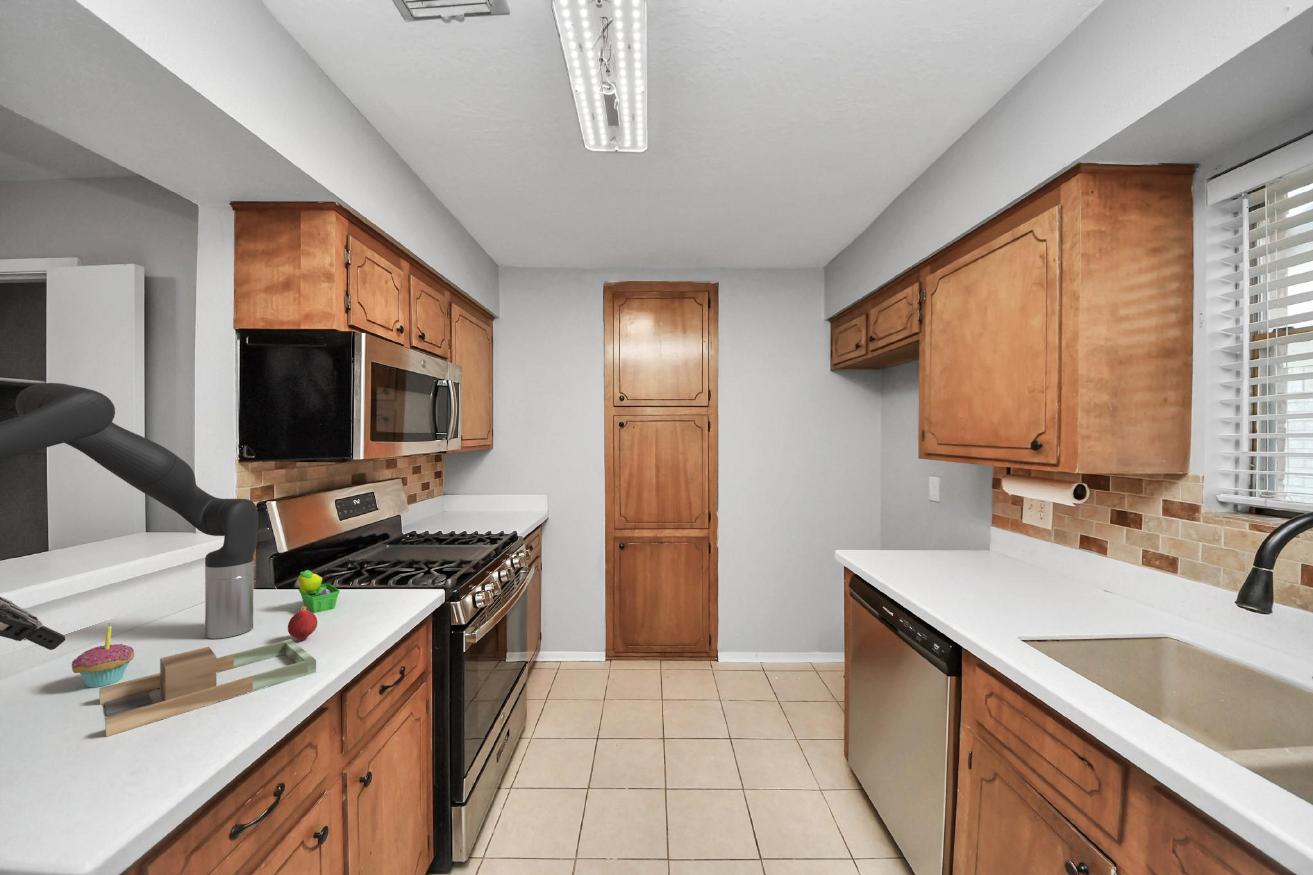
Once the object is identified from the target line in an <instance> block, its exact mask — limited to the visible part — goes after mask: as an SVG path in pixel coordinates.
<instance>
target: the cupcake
mask: <svg viewBox="0 0 1313 875" xmlns="http://www.w3.org/2000/svg"><path fill="white" fill-rule="evenodd" d="M105 631H106V632H105V640H104V641H105V642H104V645H99V646H94V647H92V648H90V649H88V650H85V651H84V652H82V653H81V654H80V655H78V656H77V657H76V658H74V659H73V660H72V662H71V670H72V672H73V673H74V674H79V675H80V676H81V677H82V679H83V681H84V683H85V685H86V687H88V688H102V687H106V686H110V685H111V684H112V685H113V684H114V683H115V684H116V683H117V682H119V681H120V680H122V678H123V677H124V673H125V671H126V669H127V667H128V666H129V664H130V662H131V661H133V660H134V659H135V658H134V657H135V652H134V648H133V647H132V646H130V645H125V644H122V643H119V644H118V643H117V644H116V643H114V644H110V643H111V636H112V626H111V622H110V623H108V626H107V627H106V629H105Z"/></svg>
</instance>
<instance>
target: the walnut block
mask: <svg viewBox="0 0 1313 875" xmlns="http://www.w3.org/2000/svg"><path fill="white" fill-rule="evenodd" d="M216 658H217V655H216V654H215V652H214V650H212V648H211V647H210V646H205V647H201V648H197V649H193V650H189V651H185V652H181V653H177V654H173V655H168V656H165V657H164V656H163V657H161V658H159V659H160V660H159V666H160V668H159V671H160V672H159V673H160V688H159V696H160V695H161V696H160V698H161V697H162V698H161V701H162V702H163V701H166V700H170V699H173V698H177V697H180V696H184V695H187V694H191V693H194V692H198V691H201V690H205V689H208V688H211V687H215V686H217V673H216Z"/></svg>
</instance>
